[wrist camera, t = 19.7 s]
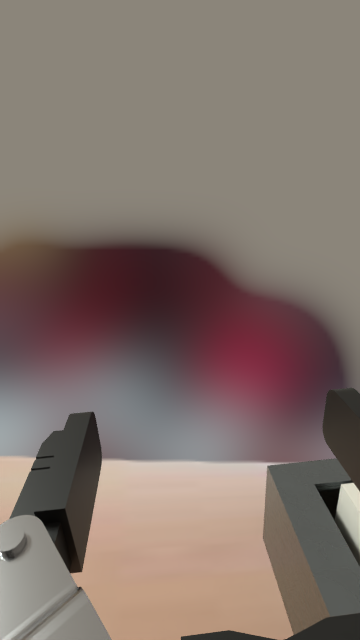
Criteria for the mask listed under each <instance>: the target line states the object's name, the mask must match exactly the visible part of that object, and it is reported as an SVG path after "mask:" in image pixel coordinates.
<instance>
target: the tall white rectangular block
mask: <svg viewBox="0 0 360 640" xmlns="http://www.w3.org/2000/svg"><path fill="white" fill-rule="evenodd" d="M335 523H336V525H337V526H338V528H339V530H340V532H341V534H342V536H343V537H344V539H345V541H346V543H347V545H348V546H349V548H350V550H351V552H352V554H353V556H354V557H355V559H356V561H357V563H358V565H359V566H360V491H359V490H358V488H357V487H356V486H355V484H354V483H348V484H341V488H340V493H339V499H338V505H337V510H336V516H335Z"/></svg>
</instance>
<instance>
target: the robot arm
mask: <svg viewBox="0 0 360 640" xmlns="http://www.w3.org/2000/svg"><path fill="white" fill-rule="evenodd" d="M323 434H324V438H325V441H326V443H327V445H328V446H329V448H330V449H331V451H332V452H333V454H334V455H335V456H336V458H337V459H338V461H339V462H340V464H341V465H342V467H343V468H344V470H345V471H346V472H347V474H348V475H349V477H350V478H351V480H352V481H353V483H354V484H355V486H356V487H357V488H358V490H359V491H360V394H359V393H358V392H357V391H356V390H355V389H353V388H347V389H335V390H329V391H328V393H327V397H326V405H325V412H324V419H323ZM101 463H102V452H101V445H100V439H99V434H98V428H97V424H96V418H95V414H94V412H85V413H74V414H70V415H69V417H68V420H67V422H66V425H65V428H64V430H62V431H54V432H53V433H52V434H51V435H50V436H49V437H48V438H47V439H46V440H45V441H44V442H43V443H42V445H41V447H40V449H39V452H38V454H37V456H36V460H35V461H34V463H33V466H32V468H31V472H30V473H29V475H28V477H27V480H26V482H25V484H24V487H23V489H22V491H21V493H20V496H19V498H18V500H17V503H16V505H15V507H14V510H13V512H12V514H11V517H10V519H9V520H7V521H5V522H3V523H2V524H1V525H0V640H111V638H110V636H109V634H108V632H107V631H106V629H105V627H104V625H103V623H102V622H101V620H100V618H99V616H98V614H97V612H96V611H95V609H94V607H93V605H92V603H91V602H90V600H89V598H88V596H87V595H86V593H85V592H84V590H83V589H82V588H81V587H79V588H78V587H77V585H76V583H75V582H74V580H73V578H72V576H71V574H70V573H77V572H82V569H83V563H84V558H85V552H86V547H87V541H88V536H89V530H90V525H91V520H92V514H93V509H94V503H95V498H96V492H97V487H98V481H99V476H100V470H101ZM181 640H276V639H271V638H265V637H260V636H255V635H250V634H245V633H240V632H235V631H230V630H228V631H221V632H213V633H206V634H198V635H191V636H183V637H181ZM285 640H360V613H356V614H349V615H341V616H334V617H326V618H324V619H323V620H321V621H319V622H317V623H315V624H313V625H312V626H310V627H308V628H306V629H304V630H302V631H300V632H299V633H297V634H295V635H293V636H291V637H289V638H287V639H285Z"/></svg>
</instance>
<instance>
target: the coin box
mask: <svg viewBox="0 0 360 640" xmlns="http://www.w3.org/2000/svg"><path fill="white" fill-rule="evenodd" d="M348 483H353V481H352V480H351V478H350V477H349V475H348V474H347V472H346V471H345V470H344V468H343V467H342V465H341V464H340V462H339V461H338V459H328V460H318V461H308V462H299V463H290V464H280V465H271V466H267V481H266V497H265V514H264V530H263V539H264V542H265V546H266V549H267V552H268V555H269V558H270V561H271V564H272V568H273V571H274V574H275V577H276V580H277V583H278V586H279V590H280V593H281V596H282V599H283V602H284V605H285V608H286V611H287V615H288V618H289V621H290V624H291V627H292V630H293V633H294V635H295V634H297V633H299V632H300V631H302V630H304V629H306V628H308V627H310V626H312V625H313V624H315V623H317V622H319V621H321V620H323V619H324V618H326V617H334V616H341V615H349V614H356V613H360V566H359V565H358V563H357V561H356V559H355V557H354V556H353V554H352V552H351V550H350V548H349V546H348V545H347V543H346V541H345V539H344V537H343V536H342V534H341V532H340V530H339V528H338V526H337V525H336V523H335V516H336V510H337V505H338V499H339V493H340V488H341V484H348Z"/></svg>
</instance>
